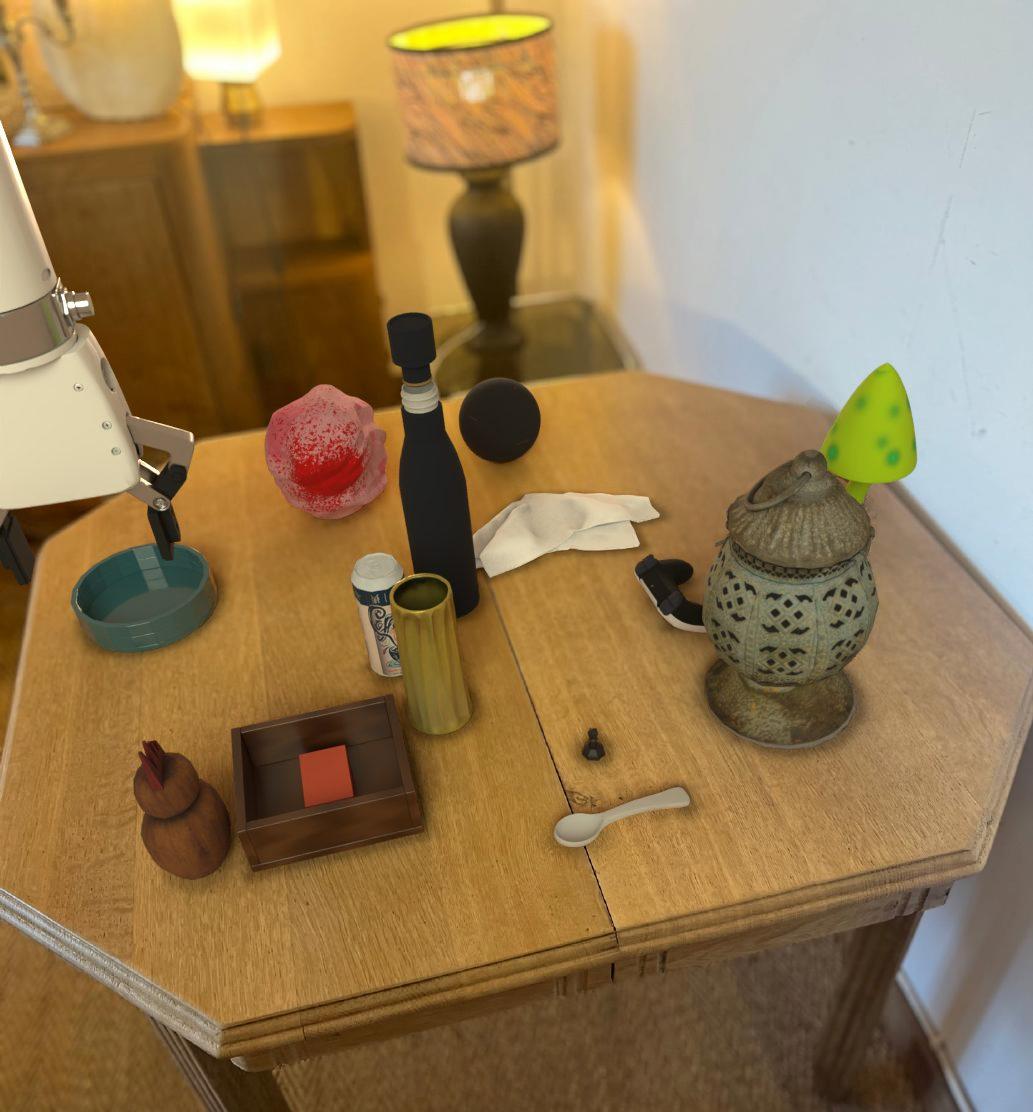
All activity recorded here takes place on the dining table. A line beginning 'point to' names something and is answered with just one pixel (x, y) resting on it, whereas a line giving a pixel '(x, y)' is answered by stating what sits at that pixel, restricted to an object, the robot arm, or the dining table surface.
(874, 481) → the mushroom
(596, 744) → the chess pawn
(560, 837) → the spoon
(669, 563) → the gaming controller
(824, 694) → the lantern
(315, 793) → the red rectangular prism
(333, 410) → the decorative rock
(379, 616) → the beer can
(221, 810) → the wooden figurine
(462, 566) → the black bottle
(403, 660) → the vase
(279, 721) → the holder
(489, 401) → the speaker
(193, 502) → the dining table surface
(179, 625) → the bowl
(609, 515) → the cloth
